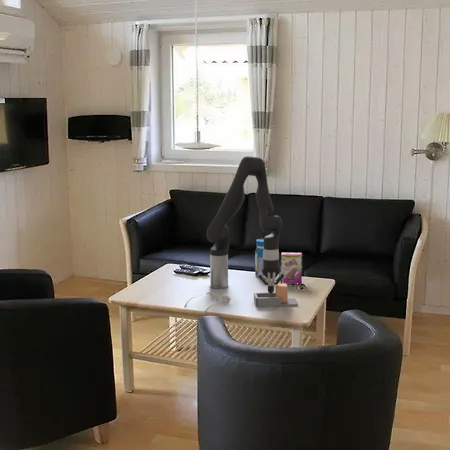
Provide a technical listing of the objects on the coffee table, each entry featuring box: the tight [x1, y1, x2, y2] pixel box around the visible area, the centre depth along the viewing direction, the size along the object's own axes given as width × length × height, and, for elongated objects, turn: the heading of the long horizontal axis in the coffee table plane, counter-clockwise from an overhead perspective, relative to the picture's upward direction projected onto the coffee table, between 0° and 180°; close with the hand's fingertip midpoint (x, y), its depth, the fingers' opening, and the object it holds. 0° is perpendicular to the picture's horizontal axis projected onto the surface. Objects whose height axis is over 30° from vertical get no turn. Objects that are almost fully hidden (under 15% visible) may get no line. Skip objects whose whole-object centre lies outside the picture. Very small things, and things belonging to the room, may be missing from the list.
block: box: [275, 283, 289, 303], centre depth 320 cm, size 5×5×8 cm
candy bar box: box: [280, 252, 303, 285], centre depth 353 cm, size 11×5×16 cm, turn 84°
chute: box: [253, 291, 299, 309], centre depth 321 cm, size 20×9×4 cm, turn 94°
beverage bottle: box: [254, 238, 266, 278], centre depth 369 cm, size 8×8×20 cm
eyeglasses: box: [183, 291, 232, 314], centre depth 320 cm, size 15×18×4 cm
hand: (270, 292), depth 320 cm, fingers closed
